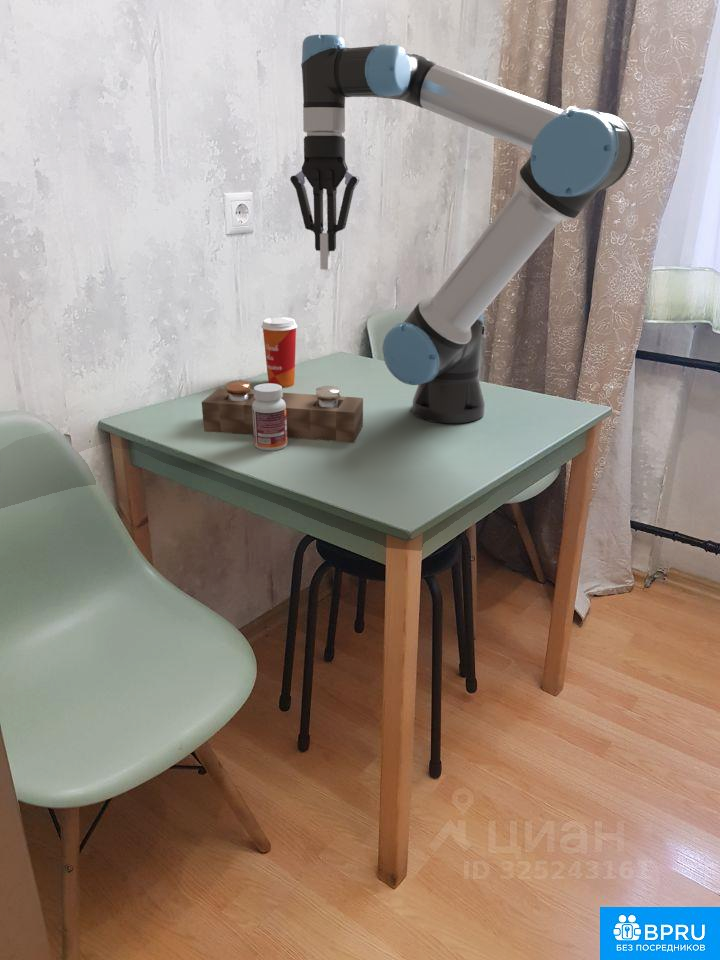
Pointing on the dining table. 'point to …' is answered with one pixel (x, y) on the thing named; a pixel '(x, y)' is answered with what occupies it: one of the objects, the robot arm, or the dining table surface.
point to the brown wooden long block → (287, 416)
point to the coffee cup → (280, 350)
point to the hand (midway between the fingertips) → (325, 268)
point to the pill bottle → (269, 417)
